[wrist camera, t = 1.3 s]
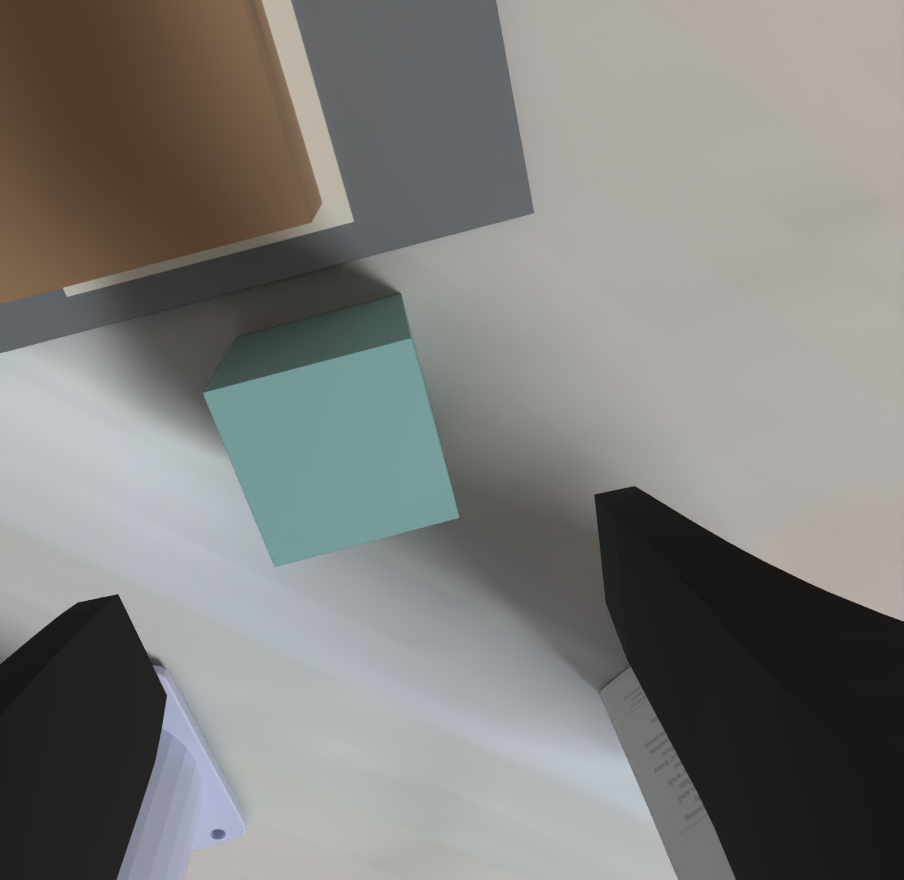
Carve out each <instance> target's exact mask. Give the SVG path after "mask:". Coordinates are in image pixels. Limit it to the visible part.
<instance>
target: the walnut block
mask: <svg viewBox="0 0 904 880" xmlns="http://www.w3.org/2000/svg"><path fill="white" fill-rule="evenodd" d="M321 205H322V199H321V196H320V193H319V189H318V186H317V183H316V179H315V176H314V173H313V169H312V166H311V163H310V159H309V156H308V153H307V149H306V146H305V143H304V139H303V136H302V133H301V129H300V126H299V123H298V119H297V116H296V113H295V109H294V106H293V103H292V99H291V96H290V93H289V89H288V86H287V83H286V79H285V76H284V73H283V69H282V66H281V63H280V59H279V56H278V53H277V49H276V46H275V43H274V39H273V36H272V33H271V29H270V26H269V23H268V19H267V16H266V13H265V9H264V6H263V3H262V0H0V301H1V303H2V304H3V303H7V302H10V301H14V300H18V299H22V298H26V297H30V296H33V295H37V294H41V293H45V292H49V291H53V290H56V289H60V288H64V287H68V286H72V285H75V284H79V283H83V282H87V281H91V280H95V279H98V278H102V277H106V276H110V275H114V274H117V273H121V272H125V271H129V270H133V269H137V268H140V267H144V266H148V265H152V264H156V263H159V262H163V261H167V260H171V259H175V258H179V257H182V256H186V255H190V254H194V253H198V252H201V251H205V250H209V249H213V248H217V247H221V246H224V245H228V244H232V243H236V242H240V241H243V240H247V239H251V238H255V237H259V236H263V235H266V234H270V233H274V232H278V231H282V230H285V229H289V228H293V227H297V226H301V225H305V224H308V223H311V222H312V221H313V219H314V217H315V215H316V214H317V212H318V210H319V208H320V207H321Z"/></svg>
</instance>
